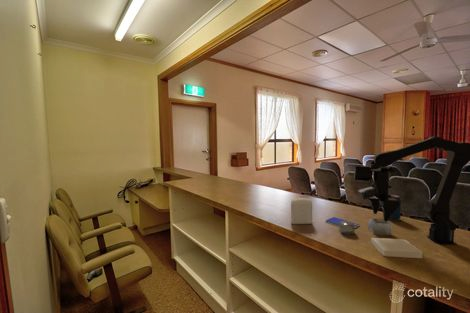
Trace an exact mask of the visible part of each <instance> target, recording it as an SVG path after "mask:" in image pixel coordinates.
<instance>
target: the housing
mask: <svg viewBox="0 0 470 313" xmlns="http://www.w3.org/2000/svg"><path fill="white" fill-rule="evenodd" d="M392 227H393V226H392V223H391V222H390V221H389V220H388V221H384V218H368V224H367V229H368V231H369V232H370V233H371V234H372V235H381V236H382V235H383V236H384V235H385V236H392Z"/></svg>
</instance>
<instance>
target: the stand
mask: <svg viewBox="0 0 470 313" xmlns="http://www.w3.org/2000/svg"><path fill="white" fill-rule="evenodd" d="M370 243H371V245H372V246H374V248H376V250H377V251H378V252H379V253H380V254H381V255H382V256H384V257H395V258H409V259H410V258H412V259H423V252H422V251H421V250H419V248H417V247H416V246H414V245H413V244H411V243H410V242H409V241H408V240H406V239H401V238H383V237H382V238H381V237H370Z"/></svg>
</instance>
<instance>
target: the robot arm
mask: <svg viewBox="0 0 470 313" xmlns="http://www.w3.org/2000/svg"><path fill="white" fill-rule="evenodd" d="M435 148H436V149H438V150H441V151H445V152H446V166H445V169H444V172H443V174H442V176H441V180H440V182H439V184H438V187H437V191H436V193H435V195H434V197H433V198H432V199H431V200H428V199H426V202H425V204H424V206H423V207H422V208H423V209H424V214H425V216H426V217H428V219H429V220H430V221H431V222H432V223H430V227H429V229H428V235H427V236H426V237H427V238H429V240H431V241H433V242H435V243H436V244H438V245H439V244H440V245H455V246H456V245H458V243H457V242H456V241H455V231H456V229H457V228H458V224H456V222H454V221H453V220H451V219H450V218H451V203H450V202H451V200H452V197H453V194H454V192H455V189H456V187H457V185H458V182H459V180H460V177H461V174H462V171H463V170H464V169H463V168H464V167H465V166H466V165H467V164H468V163H470V142H465V141H464V142H462V141H461V142H459V141H458V142H457V141H452V140H449V139H445V138H442V137H440V136H430V137H428V138H426V139H424V140H420V141H417V142H415V143H412V144H409V145H405V146H402V147H400V148H398V149H394V150H393V149H392V150H388V151H381V152H378V153H375V155H374V156H373V160H372V161H371V163H369V164H368V166H367V165H354V167H355V168H354V174H353V177H354V178H353V179H354V181H357V182H370V181H371V180H373V182H372V183H370V186H369V187H365V188H361V189H359V190H358V193H359V196H360V198H361V199H363V200H368V201H369V203H370V206H371V209H372V212H373V214H374V215H377V214H378V212H379V209H380V208H381V210H382V215H383V216H382V217H383V218H382V219H384V221H388V222H389V221H390V220H389V218H390V217H391V215H392V214H393V213H394V211H395V210H396V209H398V208H400V204H401V205H402V202H401V203H400V202H399V201H398V200H396V199H394V198H391V195H390V194H391V193H390V189H392V187H393V186H392V185H390V177H391V176H390V175H391V173H396V172H397V171H396V170H395V169H394V168H393V166H391V165H393V164H394V163H396V162H398V161H400V160H402V159H404V158H406V157H409V156H413V155H416V154H418V153H422V152H425V151H427V150H431V149H435Z"/></svg>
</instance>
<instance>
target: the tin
mask: <svg viewBox="0 0 470 313" xmlns="http://www.w3.org/2000/svg"><path fill="white" fill-rule="evenodd" d="M348 221H349V220H346V221H341V222H340V223H339V226H338V228H339V230H338V232H339V233H340V234H342V235H344V236H354V235H355V234H356V232H355V230H356V228H355V224H354V223H355V222H353V223H352V221H350V222H348Z"/></svg>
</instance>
